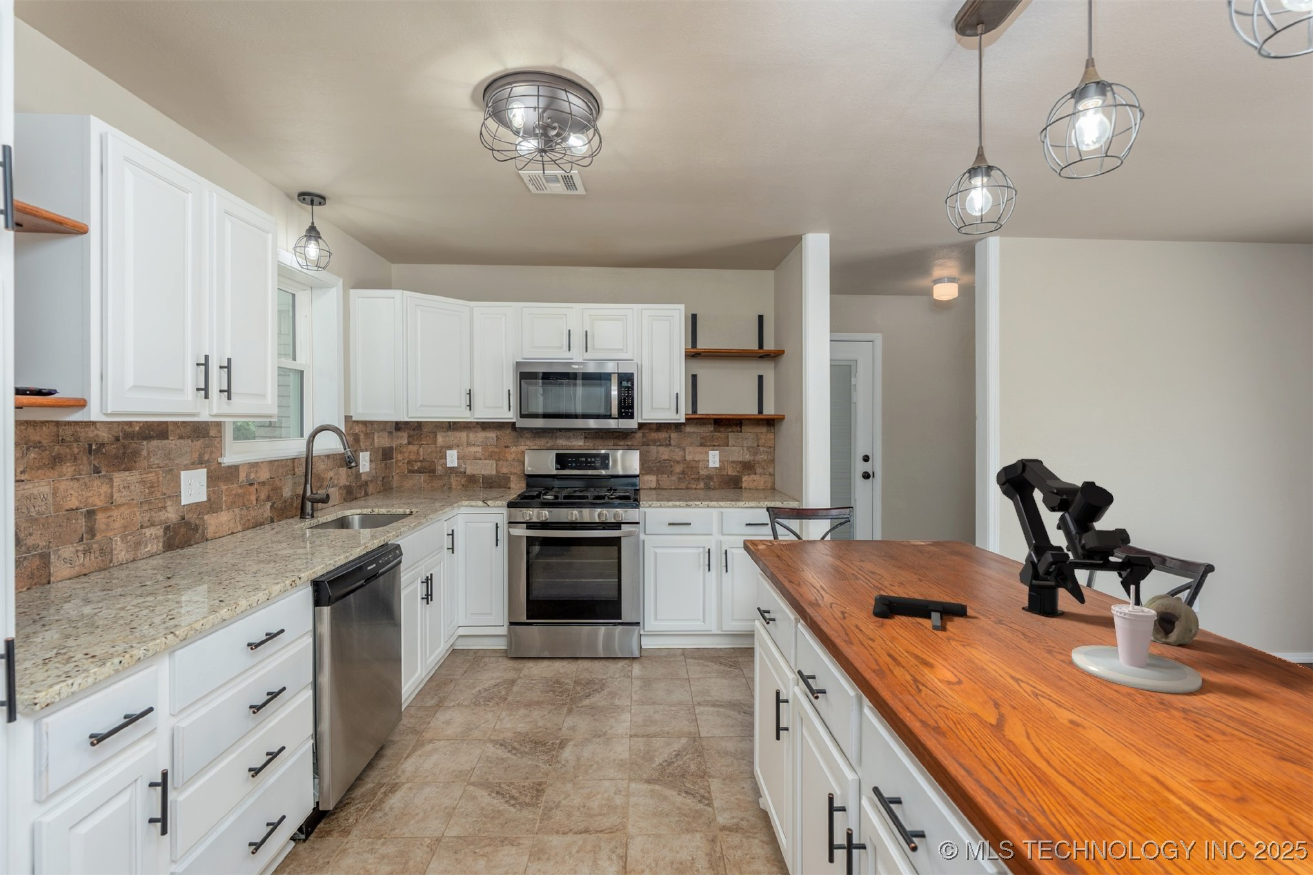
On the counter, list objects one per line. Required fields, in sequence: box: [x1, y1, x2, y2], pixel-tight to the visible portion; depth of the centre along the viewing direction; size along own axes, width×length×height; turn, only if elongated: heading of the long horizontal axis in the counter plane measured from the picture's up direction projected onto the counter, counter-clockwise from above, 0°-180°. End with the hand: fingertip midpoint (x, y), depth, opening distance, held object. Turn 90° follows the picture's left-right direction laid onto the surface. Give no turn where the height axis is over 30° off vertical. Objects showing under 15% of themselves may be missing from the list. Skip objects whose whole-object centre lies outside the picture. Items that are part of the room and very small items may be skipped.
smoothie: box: [1110, 585, 1157, 667], centre depth 106 cm, size 6×6×14 cm
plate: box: [1071, 644, 1203, 694], centre depth 106 cm, size 18×18×1 cm
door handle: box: [872, 593, 968, 631], centre depth 135 cm, size 3×20×16 cm
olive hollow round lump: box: [1142, 593, 1200, 646], centre depth 121 cm, size 9×8×10 cm
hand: (1110, 604), depth 113 cm, fingers open, 9 cm apart
